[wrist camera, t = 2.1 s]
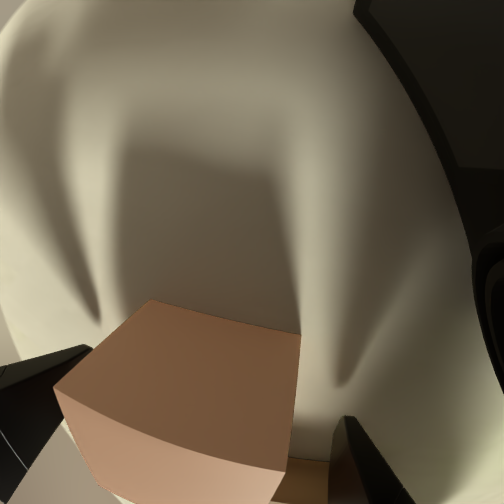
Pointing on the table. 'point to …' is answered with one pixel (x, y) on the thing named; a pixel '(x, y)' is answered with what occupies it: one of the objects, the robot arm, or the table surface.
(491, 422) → the table surface
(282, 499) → the stand
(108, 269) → the table surface
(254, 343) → the cube
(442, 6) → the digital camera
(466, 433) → the table surface
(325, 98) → the table surface
